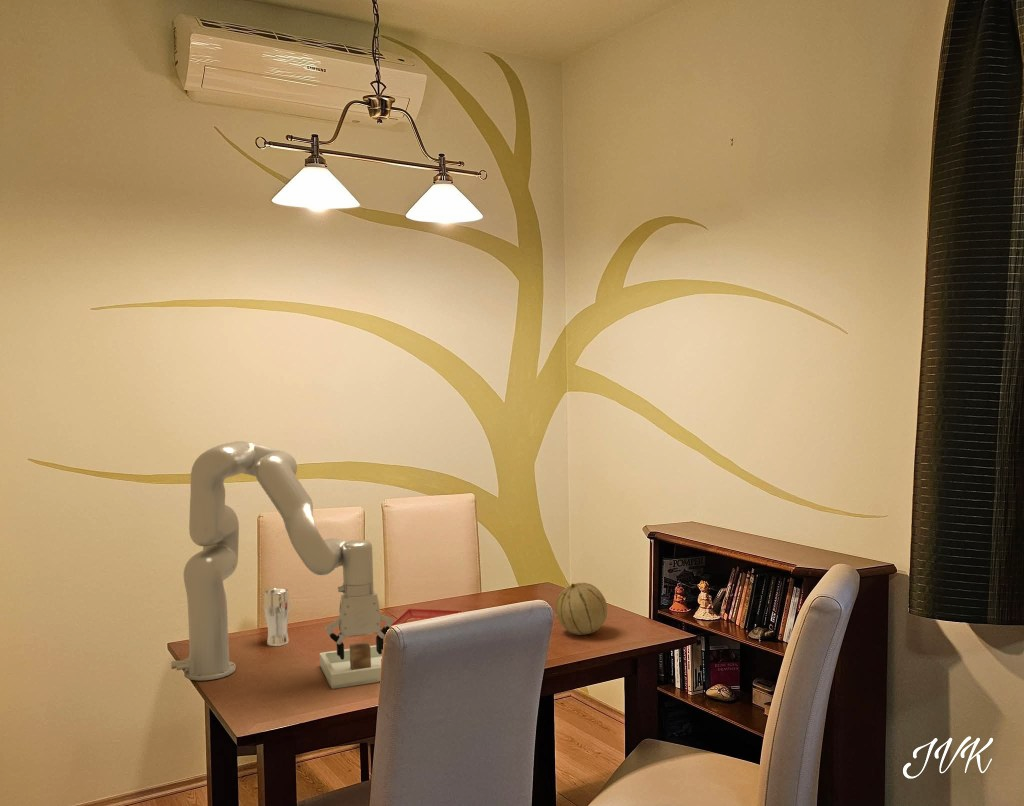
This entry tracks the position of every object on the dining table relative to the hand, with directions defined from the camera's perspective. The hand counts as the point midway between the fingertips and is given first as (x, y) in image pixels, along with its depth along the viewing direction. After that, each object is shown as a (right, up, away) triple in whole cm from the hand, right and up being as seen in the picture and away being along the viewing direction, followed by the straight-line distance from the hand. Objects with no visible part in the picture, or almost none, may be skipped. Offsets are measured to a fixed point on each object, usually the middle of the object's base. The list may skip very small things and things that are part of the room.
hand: (360, 655), depth 225 cm
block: (0, -4, 0) cm, 4 cm away
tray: (0, -4, 0) cm, 4 cm away
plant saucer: (+14, -3, +38) cm, 40 cm away
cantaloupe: (+59, -2, +28) cm, 65 cm away
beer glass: (-28, -4, +26) cm, 38 cm away
